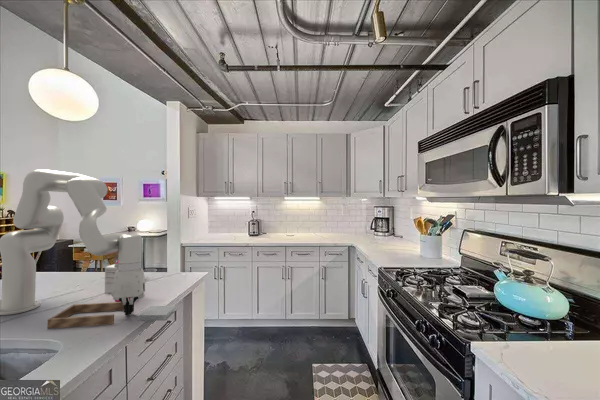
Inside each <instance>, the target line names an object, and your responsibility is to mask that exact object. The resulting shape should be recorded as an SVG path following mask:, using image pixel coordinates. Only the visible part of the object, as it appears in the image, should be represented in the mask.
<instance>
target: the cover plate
mask: <svg viewBox="0 0 600 400" xmlns="http://www.w3.org/2000/svg"><path fill="white" fill-rule="evenodd" d="M176 311H177V306H176V305H150V306H149V307H147V308H146V309H144V310H143V311H142V312H140V313H139V314H138V315H137V317H138V318H137V321H138V322H139V321H140V322H142V321H143V322H144V321H145V322H146V321H147V322H150V321H151V322H153V321H162V322H163V321H167V320H168V319H169V318H170V317H172V315H173V314H174V313H175V312H176Z"/></svg>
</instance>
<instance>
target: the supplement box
mask: <svg viewBox="0 0 600 400" xmlns="http://www.w3.org/2000/svg"><path fill="white" fill-rule="evenodd" d="M115 264H116V263H114V264H111V265H107V266H105V267H104V294H112V289H113V281H114V276H115V272H116V271H117V270H118V268H117V267H114V265H115Z"/></svg>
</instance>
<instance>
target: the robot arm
mask: <svg viewBox="0 0 600 400" xmlns="http://www.w3.org/2000/svg"><path fill="white" fill-rule="evenodd" d="M50 192H55V193H57V192H58V193H67V194H68V196H69V197H70V199H71V201H72V202H73V204H74V207H75V208H76V210H77V212H78V213H79V215H80V217H81V219H80V222H79V226H78V227H79V229H78V233H79V237H80V239H81V242H82V243H83V245H84V246H85V248H86V250H87V251H88V252H89V253H90V254H92V255H94V256H105V255H109V254H114V253H115V254H116V253H118V260H119V263H118V264H116V263H114V264H115V265H114V264H113V265H114V267H117V268H118V271H116V272H115V276H114V281H113V289H112V293H111V296H112V300H114V301H115V300H119V301H120V302H122V304H123V305H124V310H123V313H124V316H130V315H132V314H133V312H135V302H137V301H138V300H141V299H144V298H145V297H146V295H145V292H146V280H145V272H144V269H143V268H142V253H143V250H142V248H143V247H142V246H143V237H142V235H140V234H135V233H134V234H133V233H131V234H126V233H123V232H116V233H107V234H102V232H101V231H100V230H99V227H98V225H97V219H98V218H100V217H101V216H103V215H104V214H105V213H106V212H107V206H106V204H105V203H104V201H103V200H102V199H103V198H105V196H106V195H107V194H108V186H107V184H106V183H105V181H103V180H101V179H98V178H95V177H91V176H88V175H85V174H80V173H75V172H68V171H62V170H61V171H60V170H54V169H53V170H52V169H35V170H32V171H31V170H30V172H29V173H27V174H26V175H25V177H24V179H23V182H22V192H21V196H20V198H19V201H18V204H17V207H16V209H15V213H14V216H13V218H12V219H13V221H12V222H13V225H14V226H15V227H16V228H18V229H20V230H14V231H10V232H7V233H5V234H3V235H2V236H1V237H0V257H1V289H0V290H1V293H0V294H1V295H0V296H1V297H0V316H10V315H15V314H16V315H17V314H21V313H25V312H28V311H29V312H30V311H32V310H34V309H36V308H39V307H40V305H41V301H39V300H36V288H37V287H36V286H37V285H36V284H37V282H36V280H37V278H36V277H37V263H36V260H35V258H34V257H33V256H32V253H37V252H42V251H48V250H50V249H51V248H53V247H54V245H55V244H56V243H57V240H58V237H59V234H60V231H61V228H62V226H63V223H64V212H63V211H62V209H61V208H59V207H58V206H55V205H50V202H51V194H50ZM129 298H130V300H129Z"/></svg>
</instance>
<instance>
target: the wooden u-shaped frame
mask: <svg viewBox="0 0 600 400" xmlns="http://www.w3.org/2000/svg"><path fill="white" fill-rule="evenodd" d="M113 311H124V305H123V304H122V302H116V301H114V302H97V303H80V304H72V305H70V306H69V307H67V308H65V309H64V310H62V311H60V312H59V313H56V314H55V315H53V316H52V317H50V318H48V319H47V327H46V328H47V329H60V328H74V327H87V326H88V327H89V326H101V325H103V326H104V325H113V324H114V323H115V314H102V315H99V314H98V315H87V316H86V315H85V316H84V315H83V316H72V315H74V314H79V313H81V314H82V313H97V312H98V313H99V312H113Z"/></svg>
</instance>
